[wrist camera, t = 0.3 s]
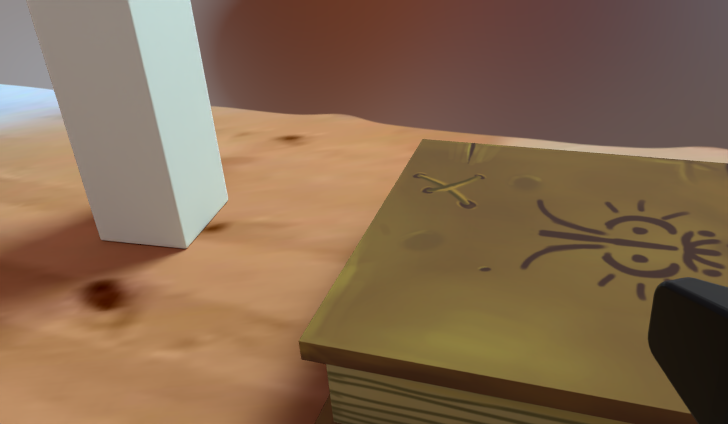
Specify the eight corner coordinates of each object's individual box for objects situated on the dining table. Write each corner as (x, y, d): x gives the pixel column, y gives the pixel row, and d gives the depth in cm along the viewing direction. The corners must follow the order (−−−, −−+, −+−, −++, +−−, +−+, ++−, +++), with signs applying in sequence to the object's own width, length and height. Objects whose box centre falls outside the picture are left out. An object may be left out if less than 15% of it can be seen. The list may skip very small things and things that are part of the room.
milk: (150, 194, 47) (56, -173, 36) (230, 201, 46) (158, -182, 35) (98, 242, 42) (-29, -168, 31) (187, 251, 41) (86, -178, 29)
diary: (852, 266, 36) (889, 169, 33) (1002, 610, 21) (1093, 488, 18) (427, 214, 43) (426, 130, 40) (313, 444, 28) (297, 336, 25)
